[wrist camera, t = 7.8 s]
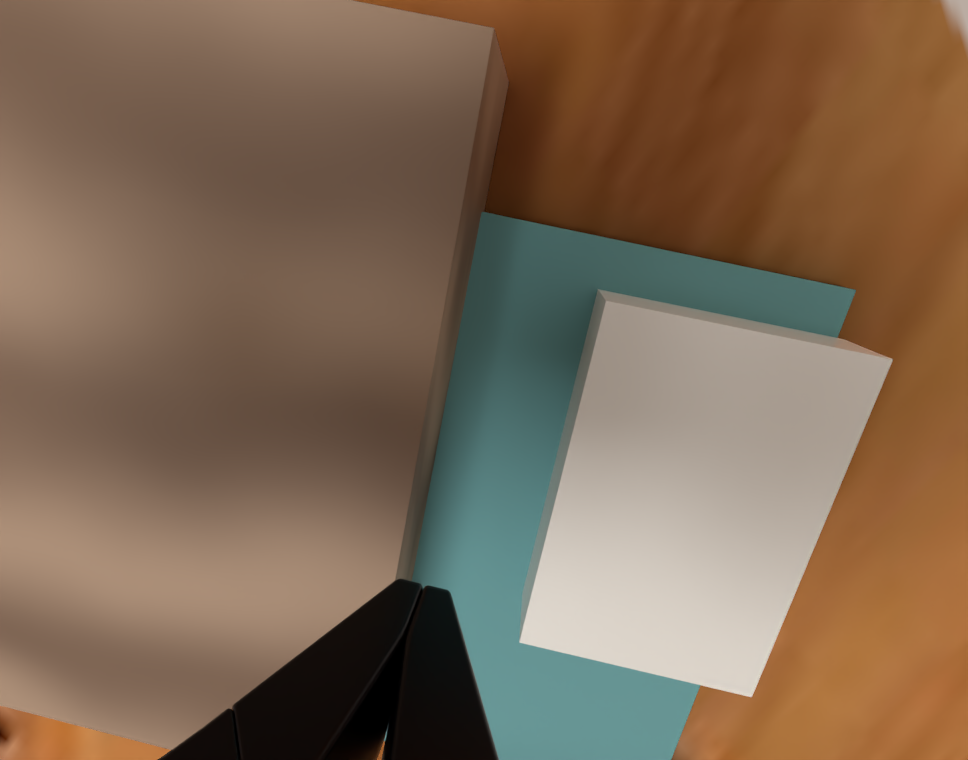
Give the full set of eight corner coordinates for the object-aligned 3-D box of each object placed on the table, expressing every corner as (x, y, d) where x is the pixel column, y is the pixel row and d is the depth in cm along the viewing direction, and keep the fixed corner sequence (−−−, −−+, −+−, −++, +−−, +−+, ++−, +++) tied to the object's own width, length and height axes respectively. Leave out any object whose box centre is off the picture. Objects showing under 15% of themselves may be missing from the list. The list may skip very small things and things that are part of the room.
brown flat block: (395, 678, 19) (355, 797, 15) (52, 592, 19) (-72, 686, 15) (508, 82, 13) (494, 27, 10) (31, -13, 14) (-165, -100, 10)
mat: (648, 791, 19) (651, 808, 18) (357, 717, 19) (352, 732, 19) (843, 287, 14) (856, 289, 13) (445, 204, 14) (441, 203, 14)
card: (519, 642, 15) (522, 593, 16) (751, 697, 14) (727, 640, 16) (606, 301, 12) (598, 289, 14) (893, 359, 12) (844, 339, 14)
